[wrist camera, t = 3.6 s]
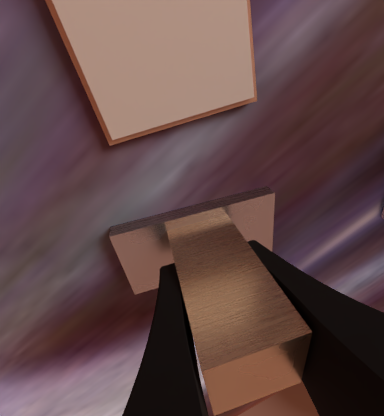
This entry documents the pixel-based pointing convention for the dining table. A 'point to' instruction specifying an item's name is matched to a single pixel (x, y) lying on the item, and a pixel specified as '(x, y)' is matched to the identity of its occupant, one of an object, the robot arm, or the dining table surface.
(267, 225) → the scraper
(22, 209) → the dining table surface
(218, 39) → the tile
